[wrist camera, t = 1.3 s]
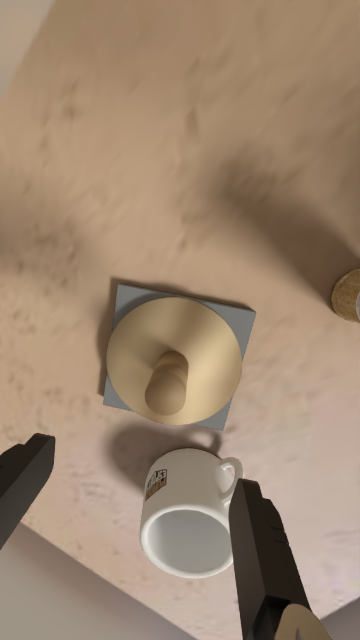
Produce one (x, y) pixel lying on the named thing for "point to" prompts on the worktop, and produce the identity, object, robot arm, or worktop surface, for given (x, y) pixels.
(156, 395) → the lid
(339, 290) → the sprinkles bottle
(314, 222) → the worktop surface
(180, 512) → the mug
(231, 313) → the mat
